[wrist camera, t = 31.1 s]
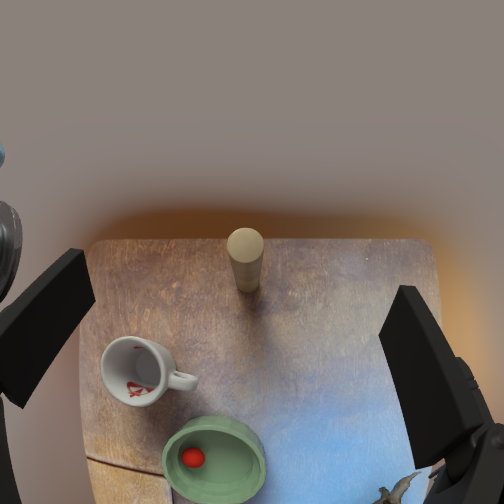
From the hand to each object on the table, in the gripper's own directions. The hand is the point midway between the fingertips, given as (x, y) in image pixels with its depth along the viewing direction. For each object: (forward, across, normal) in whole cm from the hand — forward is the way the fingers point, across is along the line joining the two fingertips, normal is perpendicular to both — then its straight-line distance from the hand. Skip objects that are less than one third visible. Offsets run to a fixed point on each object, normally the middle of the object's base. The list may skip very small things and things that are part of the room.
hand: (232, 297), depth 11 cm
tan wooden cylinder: (+22, 0, -14) cm, 27 cm away
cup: (+13, -10, -24) cm, 29 cm away
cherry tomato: (+4, -5, -30) cm, 30 cm away
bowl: (+6, -2, -31) cm, 32 cm away
